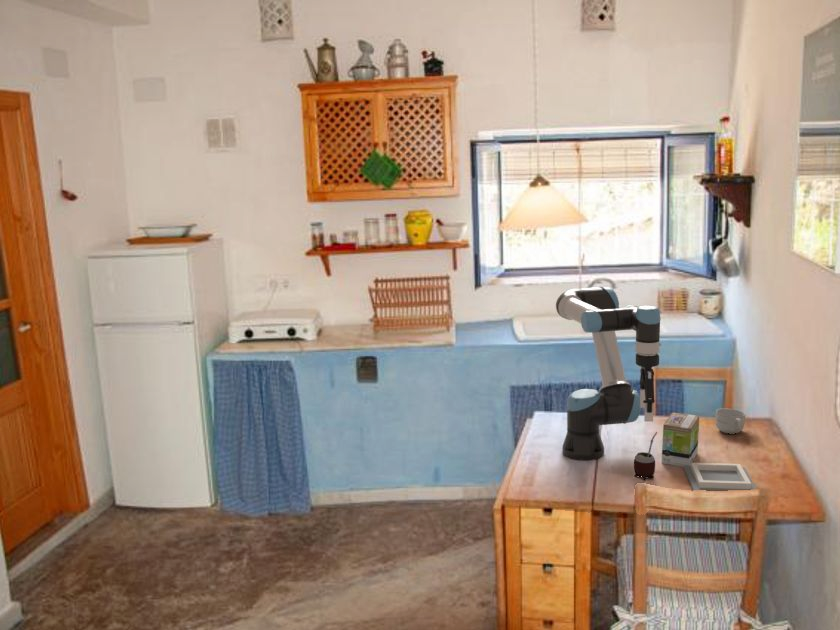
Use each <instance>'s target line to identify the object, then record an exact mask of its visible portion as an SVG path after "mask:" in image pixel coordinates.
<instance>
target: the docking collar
mask: <svg viewBox="0 0 840 630" xmlns="http://www.w3.org/2000/svg"><path fill="white" fill-rule="evenodd" d="M683 469H684V472H685V475H686V477H687V479H688V482H689V485H690V487H691V490H692V491H693V490H706V491H728V490H751V489H758V488H757V486H756V484H755V483H754V481H753V479H752V477H751V476H750V474H749V472H748V471H747V469H746V467H745V466H742V465H741V464H740V463H726V462H725V463H724V462H723V463H722V462H721V463H720V462H719V463H717V462H713V463H712V462H692V463H691V465H690V466H684V467H683Z"/></svg>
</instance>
